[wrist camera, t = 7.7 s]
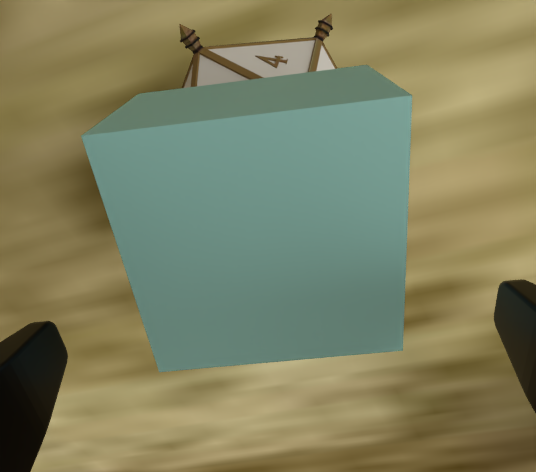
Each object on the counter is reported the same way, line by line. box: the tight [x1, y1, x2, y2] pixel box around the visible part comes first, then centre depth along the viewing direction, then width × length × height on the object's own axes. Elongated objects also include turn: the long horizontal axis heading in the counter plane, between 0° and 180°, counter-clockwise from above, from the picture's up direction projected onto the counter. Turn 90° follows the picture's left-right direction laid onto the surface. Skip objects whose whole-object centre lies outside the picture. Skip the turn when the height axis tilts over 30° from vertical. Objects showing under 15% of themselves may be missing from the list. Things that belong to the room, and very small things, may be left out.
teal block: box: [81, 65, 412, 372], centre depth 11 cm, size 6×6×4 cm
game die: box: [180, 13, 338, 88], centre depth 16 cm, size 9×8×10 cm
